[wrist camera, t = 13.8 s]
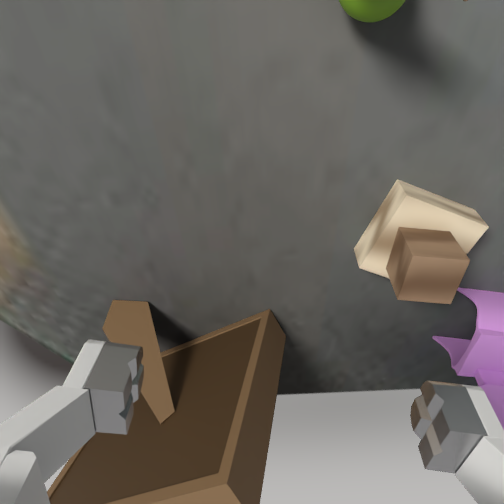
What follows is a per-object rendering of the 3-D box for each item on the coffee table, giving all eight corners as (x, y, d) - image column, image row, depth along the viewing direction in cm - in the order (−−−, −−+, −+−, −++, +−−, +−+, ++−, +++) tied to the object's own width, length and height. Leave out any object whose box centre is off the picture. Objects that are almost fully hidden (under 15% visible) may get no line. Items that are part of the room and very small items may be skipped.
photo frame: (285, 330, 54) (291, 555, 33) (152, 380, 61) (88, 593, 40) (224, 246, 47) (183, 462, 26) (82, 313, 54) (-39, 526, 33)
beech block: (396, 177, 42) (406, 195, 39) (472, 207, 43) (488, 226, 40) (353, 247, 47) (359, 268, 43) (423, 271, 48) (434, 294, 45)
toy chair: (519, 291, 48) (603, 401, 36) (487, 344, 53) (551, 456, 41) (449, 282, 48) (509, 390, 36) (423, 336, 53) (468, 447, 41)
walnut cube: (398, 226, 40) (412, 255, 36) (450, 231, 40) (470, 260, 36) (385, 268, 43) (397, 299, 39) (433, 272, 43) (450, 304, 39)
